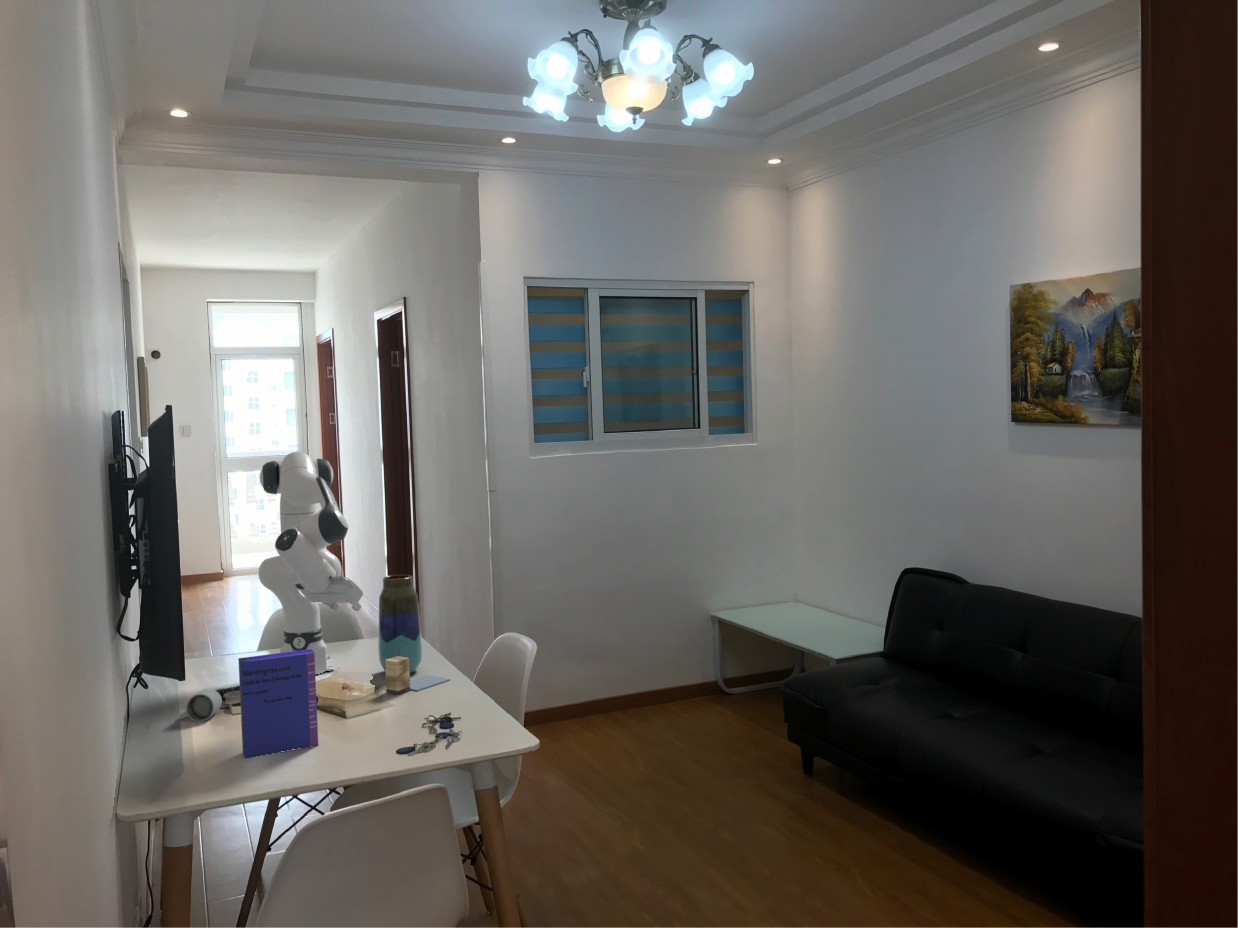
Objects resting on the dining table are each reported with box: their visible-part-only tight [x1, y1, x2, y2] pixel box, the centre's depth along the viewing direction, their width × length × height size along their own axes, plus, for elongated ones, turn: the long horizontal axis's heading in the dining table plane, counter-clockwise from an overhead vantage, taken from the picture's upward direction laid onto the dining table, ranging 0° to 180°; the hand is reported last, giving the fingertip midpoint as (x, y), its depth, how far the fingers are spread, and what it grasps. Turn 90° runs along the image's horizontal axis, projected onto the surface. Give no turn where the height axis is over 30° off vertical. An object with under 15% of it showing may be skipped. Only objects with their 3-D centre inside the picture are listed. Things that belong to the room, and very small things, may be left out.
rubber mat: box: [410, 674, 451, 692], centre depth 297 cm, size 14×10×1 cm
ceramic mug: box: [179, 689, 223, 723], centre depth 268 cm, size 11×8×8 cm
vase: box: [377, 574, 423, 674], centre depth 310 cm, size 14×14×31 cm
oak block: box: [384, 656, 411, 696], centre depth 288 cm, size 5×5×10 cm
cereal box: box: [238, 649, 319, 759], centre depth 239 cm, size 17×5×24 cm, turn 117°
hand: (347, 608), depth 275 cm, fingers open, 8 cm apart
